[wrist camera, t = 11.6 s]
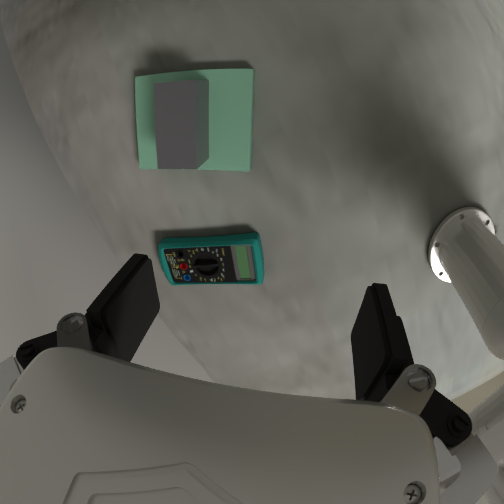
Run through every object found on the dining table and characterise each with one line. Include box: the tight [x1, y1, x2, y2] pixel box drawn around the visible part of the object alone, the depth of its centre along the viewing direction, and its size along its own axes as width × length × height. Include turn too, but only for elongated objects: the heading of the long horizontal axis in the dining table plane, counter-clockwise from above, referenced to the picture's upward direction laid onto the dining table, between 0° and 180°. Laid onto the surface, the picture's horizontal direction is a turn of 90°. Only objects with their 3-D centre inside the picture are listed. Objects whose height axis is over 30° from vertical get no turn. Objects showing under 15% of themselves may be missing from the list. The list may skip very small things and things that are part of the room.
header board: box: [135, 69, 255, 172], centre depth 29 cm, size 14×12×4 cm
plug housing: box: [154, 80, 209, 169], centre depth 28 cm, size 4×9×5 cm, turn 178°
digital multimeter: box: [158, 232, 264, 285], centre depth 40 cm, size 7×15×3 cm, turn 97°
